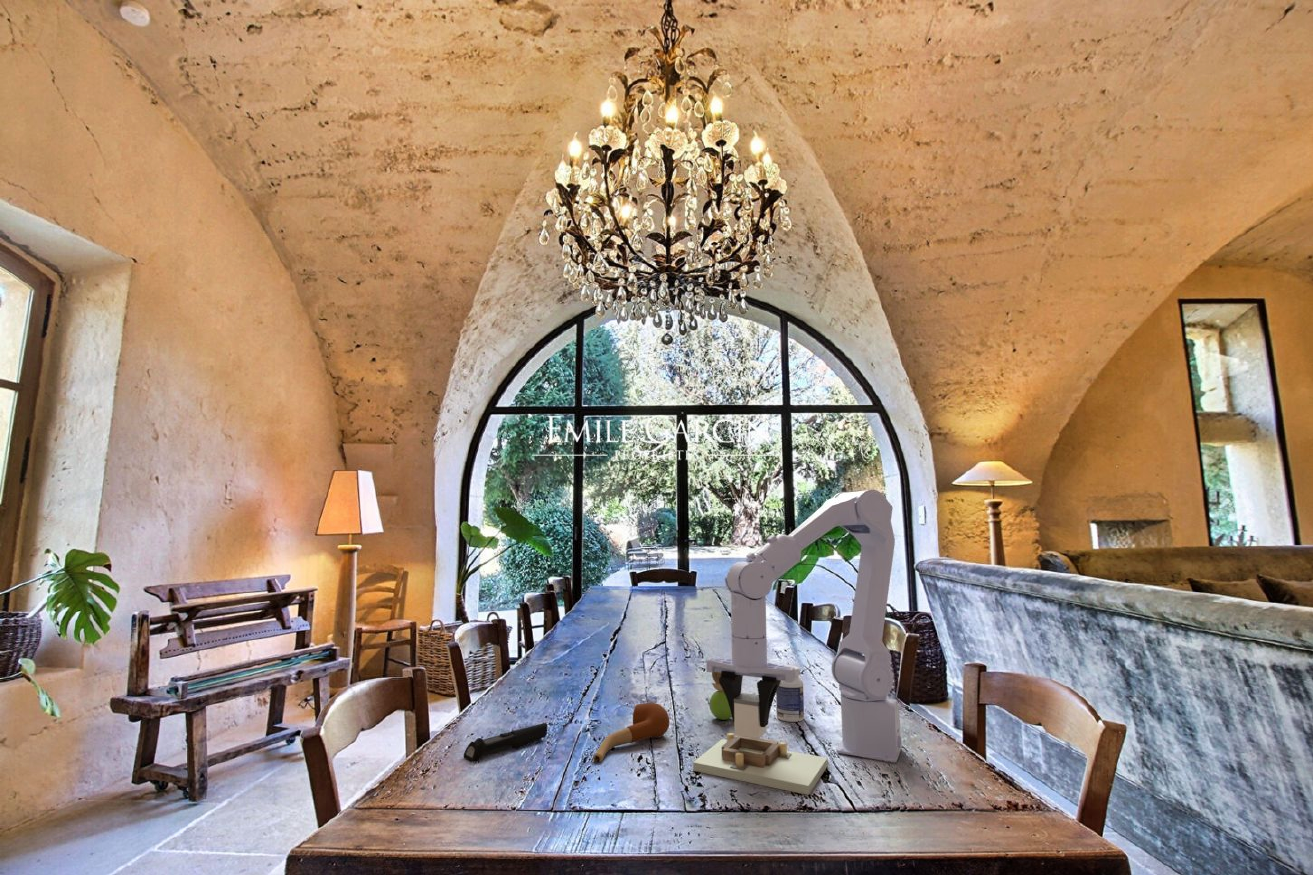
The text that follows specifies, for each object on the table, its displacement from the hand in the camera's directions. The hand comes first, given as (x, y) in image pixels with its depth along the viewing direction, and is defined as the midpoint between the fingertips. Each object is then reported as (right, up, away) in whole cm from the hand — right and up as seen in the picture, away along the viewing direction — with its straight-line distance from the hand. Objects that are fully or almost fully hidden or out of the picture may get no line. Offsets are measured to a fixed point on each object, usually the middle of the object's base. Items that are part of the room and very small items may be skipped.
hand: (750, 723), depth 98 cm
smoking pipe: (-19, -8, +7) cm, 21 cm away
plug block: (0, -2, 0) cm, 2 cm away
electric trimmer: (-41, -7, +5) cm, 42 cm away
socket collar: (0, -5, -1) cm, 5 cm away
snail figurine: (-2, -10, +21) cm, 23 cm away
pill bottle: (+11, -10, +22) cm, 27 cm away
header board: (+1, -6, -3) cm, 6 cm away
